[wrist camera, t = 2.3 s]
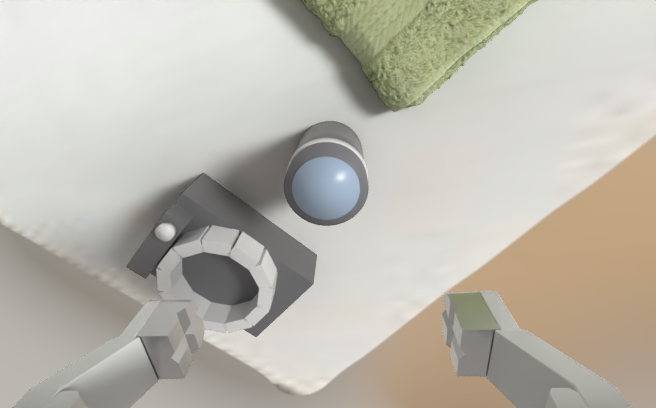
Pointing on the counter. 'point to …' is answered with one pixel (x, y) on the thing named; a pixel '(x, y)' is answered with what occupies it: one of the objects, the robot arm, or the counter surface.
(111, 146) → the counter surface
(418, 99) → the washcloth
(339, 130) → the lens
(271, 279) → the camera body
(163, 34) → the counter surface
